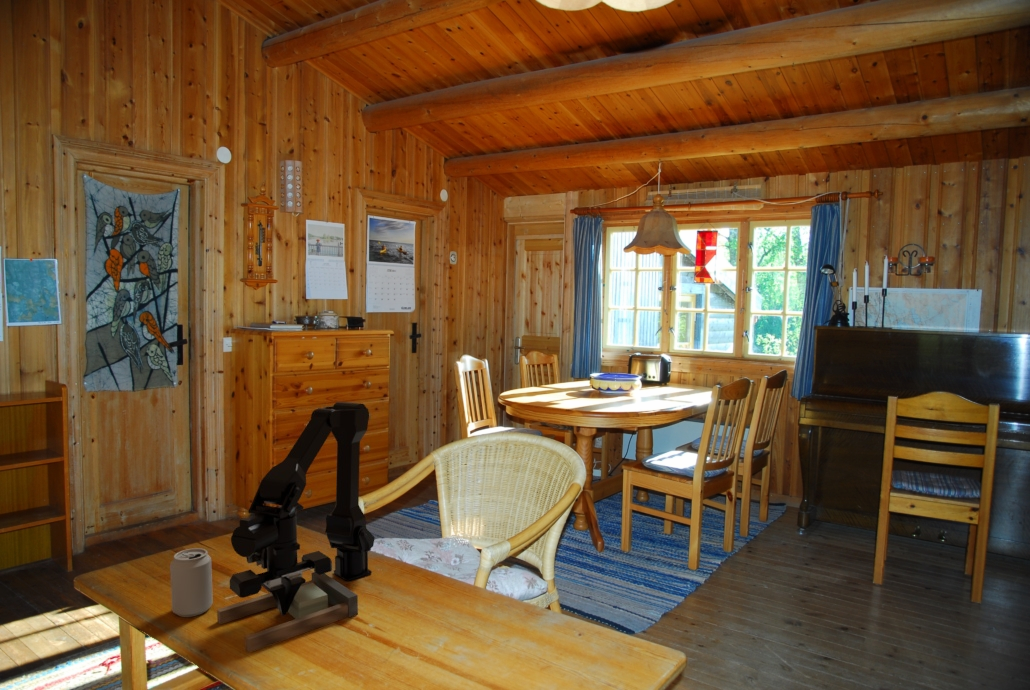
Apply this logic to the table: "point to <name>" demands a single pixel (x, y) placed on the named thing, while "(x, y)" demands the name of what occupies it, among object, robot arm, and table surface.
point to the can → (191, 582)
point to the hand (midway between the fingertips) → (283, 614)
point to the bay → (341, 608)
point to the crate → (308, 601)
